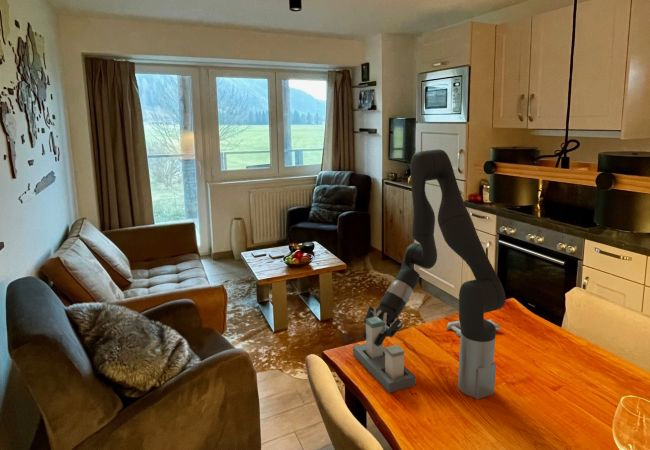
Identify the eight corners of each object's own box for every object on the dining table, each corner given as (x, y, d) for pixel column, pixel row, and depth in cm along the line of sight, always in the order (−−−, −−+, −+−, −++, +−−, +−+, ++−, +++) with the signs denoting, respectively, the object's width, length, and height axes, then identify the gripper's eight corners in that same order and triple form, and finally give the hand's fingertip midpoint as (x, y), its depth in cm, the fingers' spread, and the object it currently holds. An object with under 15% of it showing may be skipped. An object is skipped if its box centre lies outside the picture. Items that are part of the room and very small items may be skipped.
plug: (382, 355, 139) (383, 321, 136) (372, 358, 138) (372, 324, 135) (376, 349, 143) (376, 316, 140) (366, 352, 141) (365, 318, 138)
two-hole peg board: (415, 385, 127) (416, 352, 125) (389, 392, 124) (389, 360, 122) (376, 348, 148) (376, 320, 146) (353, 354, 145) (352, 326, 142)
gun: (486, 312, 166) (502, 324, 156) (486, 320, 167) (502, 333, 157) (443, 321, 162) (457, 333, 153) (443, 329, 163) (457, 342, 154)
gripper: (375, 285, 145) (348, 328, 141) (408, 298, 134) (380, 345, 130) (386, 295, 150) (361, 338, 145) (418, 309, 139) (392, 355, 134)
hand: (370, 341), depth 138 cm, fingers closed on plug, 5 cm apart
